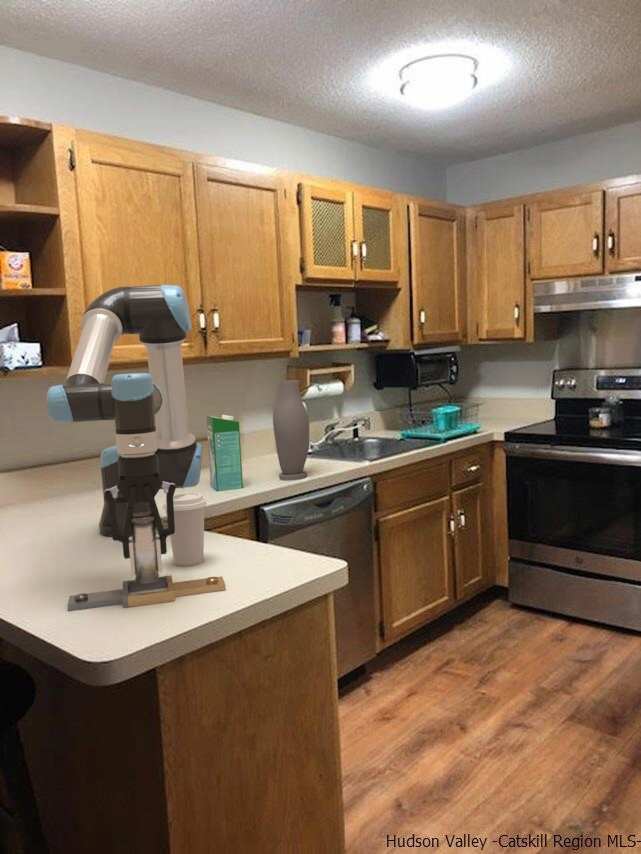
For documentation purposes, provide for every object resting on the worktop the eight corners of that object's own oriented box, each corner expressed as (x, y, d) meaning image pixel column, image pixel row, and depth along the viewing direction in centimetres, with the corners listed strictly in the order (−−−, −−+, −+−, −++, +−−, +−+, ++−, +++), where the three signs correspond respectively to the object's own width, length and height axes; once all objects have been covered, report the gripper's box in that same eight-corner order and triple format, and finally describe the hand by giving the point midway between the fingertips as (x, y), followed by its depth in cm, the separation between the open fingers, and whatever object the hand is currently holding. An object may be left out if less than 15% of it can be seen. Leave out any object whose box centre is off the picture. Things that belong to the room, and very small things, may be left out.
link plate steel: (71, 597, 138) (70, 587, 138) (167, 585, 143) (166, 575, 143) (66, 615, 129) (65, 605, 129) (169, 601, 134) (168, 591, 133)
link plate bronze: (128, 590, 141) (128, 580, 141) (221, 578, 146) (220, 569, 145) (128, 607, 132) (127, 596, 132) (227, 593, 136) (226, 583, 136)
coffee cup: (191, 552, 165) (187, 490, 163) (218, 559, 159) (214, 494, 157) (158, 563, 158) (153, 498, 156) (186, 571, 152) (181, 503, 150)
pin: (133, 577, 139) (128, 513, 137) (160, 574, 140) (156, 510, 139) (133, 586, 134) (127, 519, 132) (162, 582, 135) (157, 516, 133)
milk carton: (243, 488, 237) (238, 414, 234) (216, 491, 234) (212, 417, 231) (236, 483, 245) (231, 412, 242) (210, 486, 242) (206, 414, 239)
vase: (297, 482, 243) (293, 381, 240) (267, 479, 250) (262, 381, 246) (317, 475, 254) (313, 379, 251) (288, 473, 261) (284, 379, 258)
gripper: (88, 460, 128) (99, 584, 131) (185, 453, 133) (193, 572, 135) (91, 455, 135) (101, 571, 138) (182, 447, 140) (190, 561, 142)
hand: (146, 571), depth 137 cm, fingers closed on pin, 4 cm apart
